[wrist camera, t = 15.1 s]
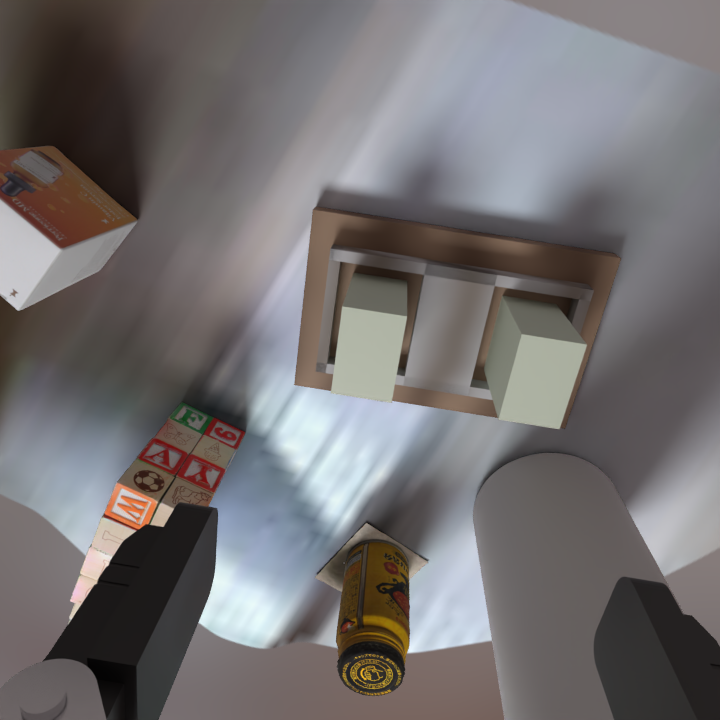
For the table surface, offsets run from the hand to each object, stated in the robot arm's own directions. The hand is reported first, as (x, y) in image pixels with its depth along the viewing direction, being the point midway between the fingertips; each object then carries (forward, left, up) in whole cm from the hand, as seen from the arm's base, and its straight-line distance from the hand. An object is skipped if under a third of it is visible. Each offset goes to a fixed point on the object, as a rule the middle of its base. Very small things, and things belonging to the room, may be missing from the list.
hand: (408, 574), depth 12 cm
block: (+10, -6, -33) cm, 34 cm away
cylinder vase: (+16, -22, -34) cm, 44 cm away
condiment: (+2, -32, -34) cm, 47 cm away
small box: (-25, -2, -34) cm, 43 cm away
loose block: (-2, -6, -33) cm, 33 cm away
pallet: (+4, -6, -34) cm, 35 cm away
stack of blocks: (-17, -28, -34) cm, 48 cm away
